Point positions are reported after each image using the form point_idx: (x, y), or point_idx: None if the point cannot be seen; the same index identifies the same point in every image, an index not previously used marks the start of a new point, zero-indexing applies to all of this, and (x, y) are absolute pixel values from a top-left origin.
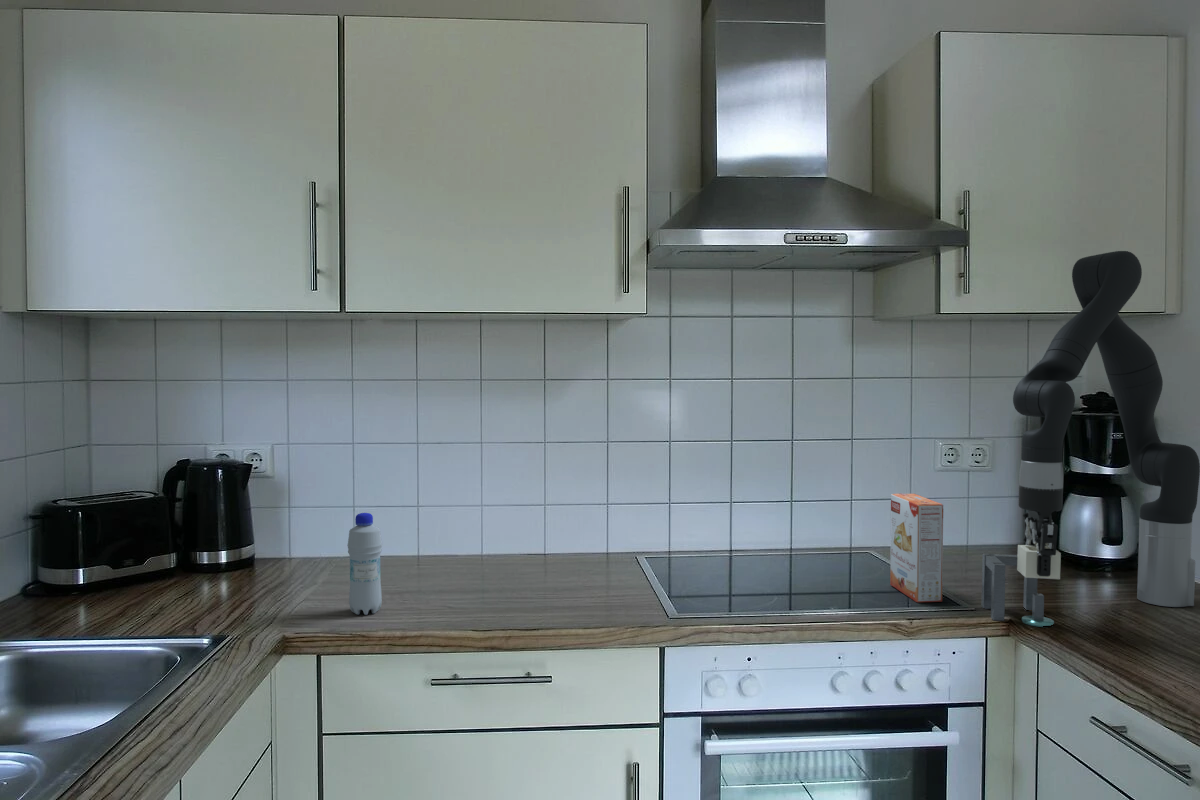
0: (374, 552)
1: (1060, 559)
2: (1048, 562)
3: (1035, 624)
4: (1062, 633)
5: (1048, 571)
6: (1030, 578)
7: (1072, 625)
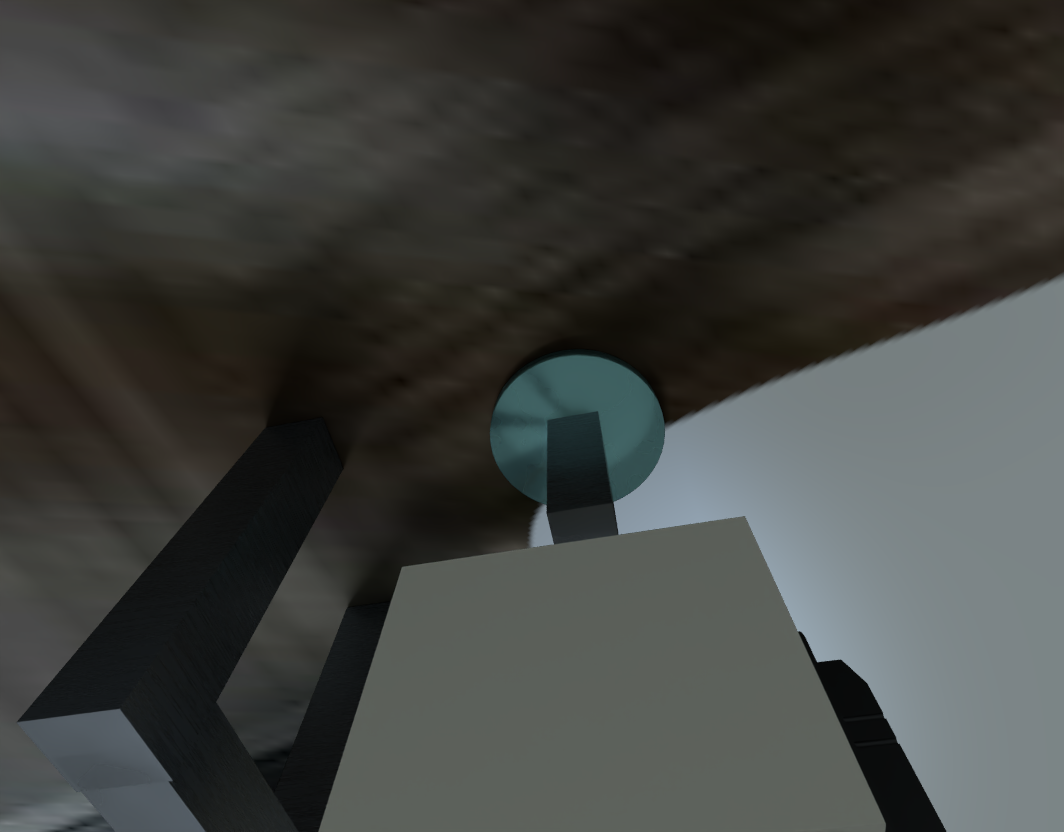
0: None
1: (829, 711)
2: (920, 796)
3: (659, 449)
4: (761, 317)
5: (869, 690)
6: (255, 592)
7: (550, 240)
